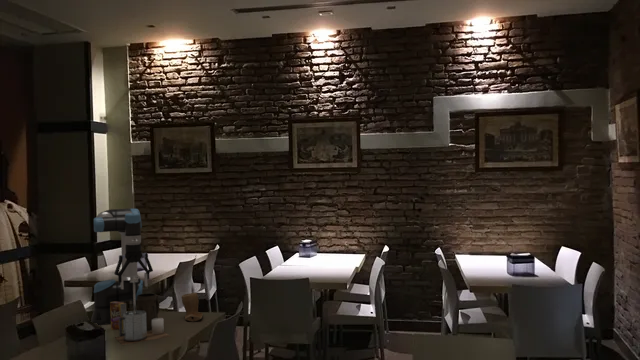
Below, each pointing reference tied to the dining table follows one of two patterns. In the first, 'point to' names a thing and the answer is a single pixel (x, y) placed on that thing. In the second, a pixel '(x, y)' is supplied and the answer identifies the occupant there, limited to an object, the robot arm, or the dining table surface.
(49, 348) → the dining table surface
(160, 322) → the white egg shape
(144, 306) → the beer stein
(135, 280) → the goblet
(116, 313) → the candy box
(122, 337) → the serving board
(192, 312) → the brown boot
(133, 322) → the grey octagonal container
